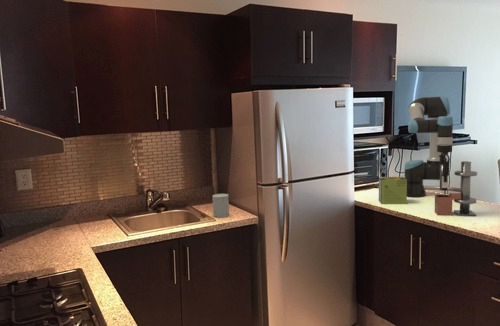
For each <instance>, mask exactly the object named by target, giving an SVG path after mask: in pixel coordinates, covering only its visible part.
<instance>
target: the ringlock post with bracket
mask: <svg viewBox="0 0 500 326" xmlns="http://www.w3.org/2000/svg"><path fill="white" fill-rule="evenodd" d="M454 175H455V176H456V177H457V176H458V177H460V184H459V185H460V187H459V189H460V190H459V191H460V192H449V193H448V194H434V213H435V214H436V215H437V216H453V213H454V214H455V215H457V217H476V216H477V214H476V213H475V212H474V211H473V210H471V209H470V208H471V206H470V205H473V204H476V203H477V198H474V197H471V177H477V176H478V171H474V170H472V161H470V160H469V161H460V170H454ZM453 202H454V203H456V204H459V209H453Z"/></svg>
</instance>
